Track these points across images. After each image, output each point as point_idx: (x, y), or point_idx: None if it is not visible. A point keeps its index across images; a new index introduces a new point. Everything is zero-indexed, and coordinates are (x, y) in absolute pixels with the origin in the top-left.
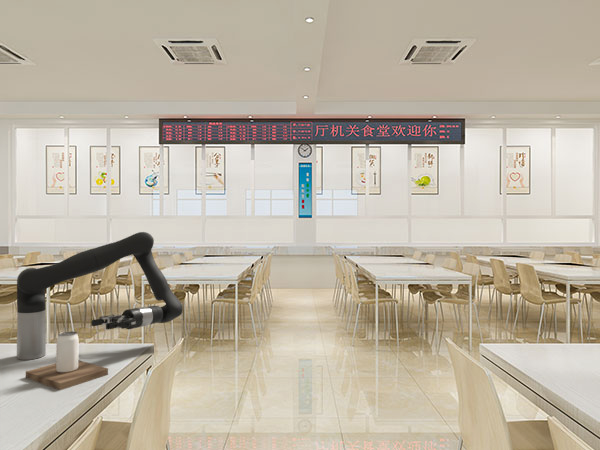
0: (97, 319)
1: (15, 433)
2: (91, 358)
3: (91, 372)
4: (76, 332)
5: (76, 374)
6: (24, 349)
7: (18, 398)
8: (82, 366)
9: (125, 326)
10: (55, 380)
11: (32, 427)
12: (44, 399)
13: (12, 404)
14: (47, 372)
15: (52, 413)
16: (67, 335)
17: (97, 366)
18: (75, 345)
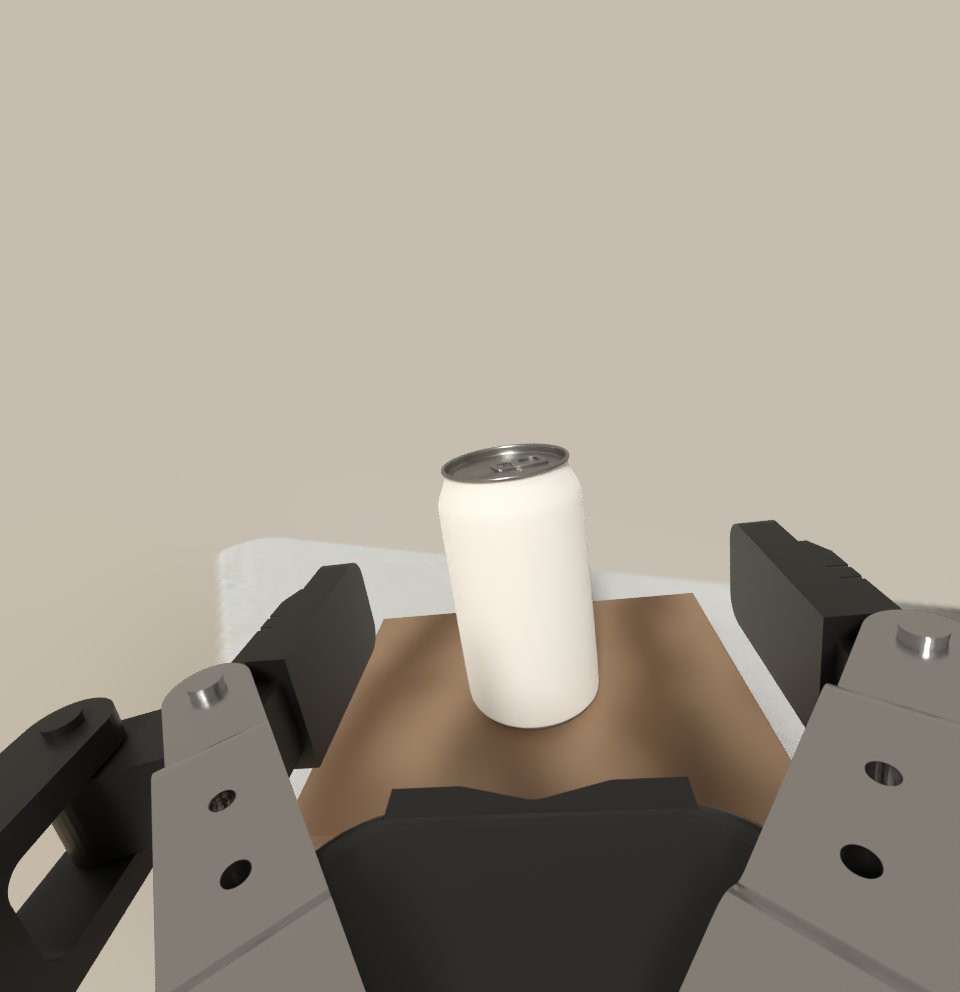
0: (773, 558)
1: (280, 546)
2: None
3: (347, 736)
4: (479, 479)
5: (410, 684)
6: None
7: None
8: (514, 761)
9: (62, 905)
10: (436, 619)
11: (262, 561)
12: (372, 602)
13: (434, 562)
14: None
15: (265, 591)
16: (456, 458)
17: None
18: (445, 551)
